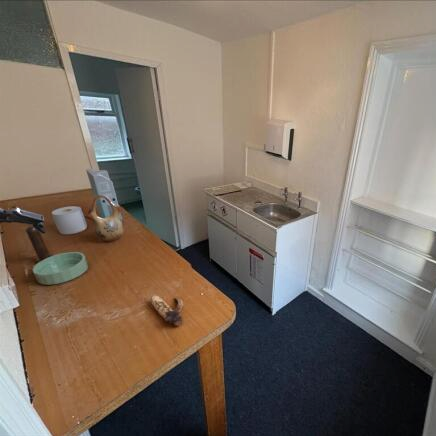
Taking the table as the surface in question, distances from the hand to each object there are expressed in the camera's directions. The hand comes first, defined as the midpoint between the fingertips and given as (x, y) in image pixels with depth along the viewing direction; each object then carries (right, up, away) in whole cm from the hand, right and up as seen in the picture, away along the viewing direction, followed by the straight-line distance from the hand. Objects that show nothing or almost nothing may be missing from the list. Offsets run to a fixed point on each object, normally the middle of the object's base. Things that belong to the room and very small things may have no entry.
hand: (20, 236), depth 89 cm
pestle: (-6, -12, +15) cm, 20 cm away
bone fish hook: (+61, -27, -5) cm, 67 cm away
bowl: (+9, -16, +9) cm, 20 cm away
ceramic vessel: (+9, -5, +34) cm, 36 cm away
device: (-7, +6, +55) cm, 56 cm away
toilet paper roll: (-18, +1, +41) cm, 45 cm away
